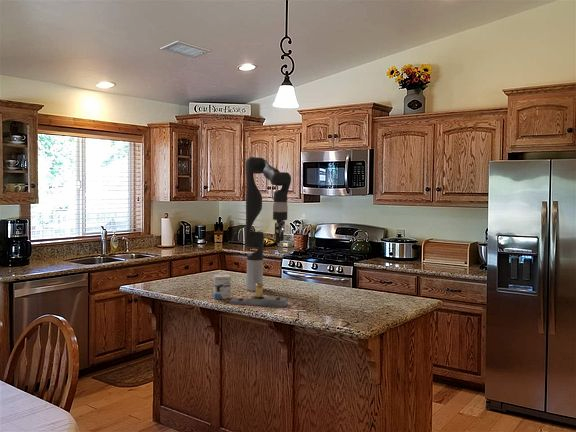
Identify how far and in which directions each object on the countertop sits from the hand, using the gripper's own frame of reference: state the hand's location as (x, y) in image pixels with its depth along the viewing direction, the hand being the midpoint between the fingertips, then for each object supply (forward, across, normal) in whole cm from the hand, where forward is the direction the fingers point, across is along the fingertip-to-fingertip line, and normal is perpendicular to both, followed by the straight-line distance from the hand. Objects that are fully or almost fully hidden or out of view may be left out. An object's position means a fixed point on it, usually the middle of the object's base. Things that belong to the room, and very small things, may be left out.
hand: (279, 241), depth 271 cm
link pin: (+30, +14, -7) cm, 34 cm away
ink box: (+30, +5, -29) cm, 43 cm away
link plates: (+30, +14, -7) cm, 34 cm away
